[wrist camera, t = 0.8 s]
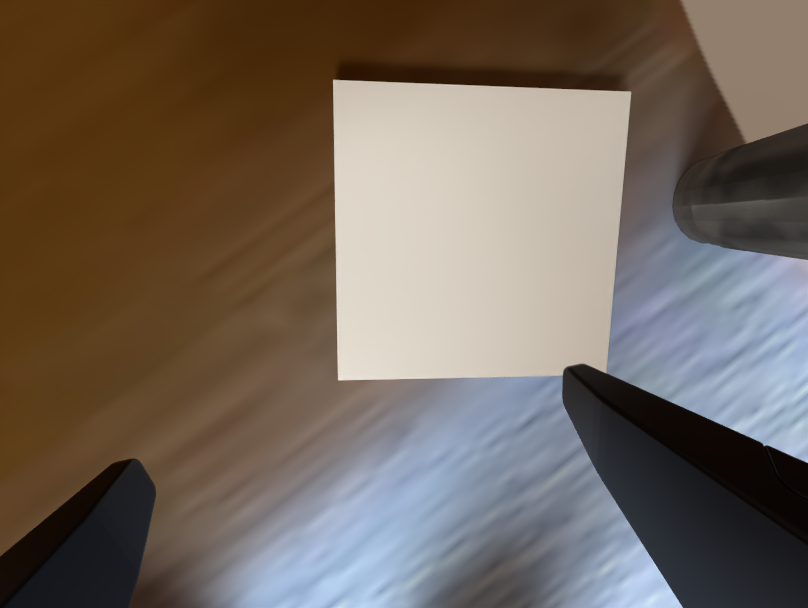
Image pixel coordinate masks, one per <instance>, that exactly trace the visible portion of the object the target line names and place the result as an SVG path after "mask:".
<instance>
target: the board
mask: <svg viewBox="0 0 808 608" xmlns="http://www.w3.org/2000/svg"><path fill="white" fill-rule="evenodd" d="M333 99H334V161H335V222H336V283H337V345H338V380H376V379H426V378H476V377H526V376H563V371H564V368H565V367H567V366H571V365H576V364H581V363H583V364H586V365H589V366H591V367H593V368H596V369H598V370H600V371H602V372H604V373H606V369H607V358H608V347H609V336H610V324H611V313H612V302H613V291H614V279H615V268H616V257H617V246H618V234H619V223H620V212H621V201H622V190H623V178H624V167H625V156H626V145H627V133H628V122H629V111H630V100H631V92H624V91H599V90H574V89H549V88H524V87H499V86H474V85H448V84H423V83H398V82H373V81H348V80H333Z"/></svg>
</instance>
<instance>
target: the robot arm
mask: <svg viewBox="0 0 808 608" xmlns="http://www.w3.org/2000/svg"><path fill="white" fill-rule="evenodd" d="M562 398H563V403H564V406H565V409H566V411H567V413H568V415H569V417H570V419H571V421H572V423H573V425H574V427H575V429H576V431H577V433H578V435H579V437H580V439H581V441H582V443H583V445H584V447H585V449H586V451H587V453H588V455H589V457H590V459H591V461H592V463H593V465H594V467H595V469H596V471H597V473H598V474H599V476H600V478H601V479H602V481H603V482H604V484H605V486H606V487H607V489H608V490H609V492H610V493H611V495H612V497H613V498H614V500H615V501H616V503H617V504H618V506H619V508H620V509H621V511H622V512H623V514H624V515H625V517H626V519H627V520H628V522H629V523H630V525H631V526H632V528H633V530H634V531H635V533H636V534H637V536H638V538H639V539H640V541H641V542H642V544H643V545H644V547H645V549H646V550H647V552H648V553H649V555H650V556H651V558H652V560H653V561H654V563H655V564H656V566H657V567H658V569H659V571H660V572H661V574H662V575H663V577H664V578H665V580H666V582H667V583H668V585H669V586H670V588H671V589H672V591H673V593H674V594H675V596H676V597H677V599H678V600H679V602H680V604H681V605H682V607H683V608H808V463H807V462H804V461H802V460H800V459H797V458H795V457H793V456H790V455H788V454H786V453H784V452H781V451H779V450H777V449H775V448H772V447H770V446H768V445H766V446H764V445H763V444H762V443H761V442H759V441H756V440H754V439H752V438H750V437H748V436H745V435H743V434H741V433H739V432H736V431H734V430H732V429H730V428H727V427H725V426H723V425H721V424H718V423H716V422H714V421H712V420H710V419H707V418H705V417H703V416H701V415H698V414H696V413H694V412H692V411H689V410H687V409H685V408H683V407H680V406H678V405H676V404H674V403H672V402H669V401H667V400H665V399H663V398H660V397H658V396H656V395H654V394H651V393H649V392H647V391H645V390H642V389H640V388H638V387H636V386H634V385H631V384H629V383H627V382H625V381H622V380H620V379H618V378H616V377H613V376H611V375H609V374H607V373H604V372H602V371H600V370H598V369H596V368H593V367H591V366H589V365H586V364H583V363H581V364H576V365H571V366H567V367H565V368H564V371H563V390H562ZM155 498H156V489H155V485H154V483H153V481H152V480H151V478H150V477H149V475H148V473H147V472H146V470H145V469H144V467H143V465H142V464H141V462H140V461H139V460H137V459H127V460H123V461H118V462H115V463H113V464H111V465H110V466H109V467H108V468H106V469H105V470H104V471H103V472H102V473H100V474H99V475H98V476H97V477H96V478H94V479H93V480H92V481H91V482H89V483H88V484H87V485H86V486H85V487H83V488H82V489H81V490H80V491H79V492H77V493H76V494H75V495H74V496H73V497H71V498H70V499H69V500H68V501H67V502H65V503H64V504H63V505H62V506H61V507H59V508H58V509H57V510H56V511H55V512H53V513H52V514H51V515H50V516H49V517H47V518H46V519H45V520H44V521H42V522H41V523H40V524H39V525H38V526H36V527H35V528H34V529H33V530H32V531H30V532H29V533H28V534H27V535H26V536H24V537H23V538H22V539H21V540H20V541H18V542H17V543H16V544H15V545H14V546H12V547H11V548H10V549H9V550H8V551H6V552H5V553H4V554H3V555H2V556H0V608H129V606H130V603H131V600H132V597H133V593H134V590H135V587H136V584H137V580H138V577H139V573H140V569H141V565H142V561H143V556H144V551H145V546H146V542H147V537H148V532H149V527H150V522H151V517H152V513H153V508H154V503H155Z"/></svg>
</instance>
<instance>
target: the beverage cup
mask: <svg viewBox="0 0 808 608" xmlns="http://www.w3.org/2000/svg"><path fill="white" fill-rule="evenodd" d="M673 212H674V217H675V221H676V223H677V224H678V226H679V228H680V230H681V231H682V232H683V233H684V234H685V235H686V236H688V237H689V238H690V239H692V240H695V241H697V242H700V243H709V244H712V245H718V246H721V247H723V248H729V249H736V250H743V251H750V252H757V253H764V254H771V255H778V256H785V257H791V258H798V259H805V260H808V124H805V125H802V126H799V127H796V128H793V129H790V130H787V131H784V132H781V133H778V134H775V135H772V136H769V137H766V138H763V139H760V140H757V141H754V142H751V143H748V144H745V145H742V146H739V147H736V148H733V149H730V150H727V151H724V152H722V153H720V154H719V155H716V156H714V157H711V158H708V159H705V160H702V161H699V162H698V163H696V164H695V165H693V166H692V167H691V168H689V169H688V170H687V171H686V173H685V174H684V175H683V176H682V178H681V179H680V180H679V183H678V185H677V188H676V190H675V192H674V199H673Z"/></svg>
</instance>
